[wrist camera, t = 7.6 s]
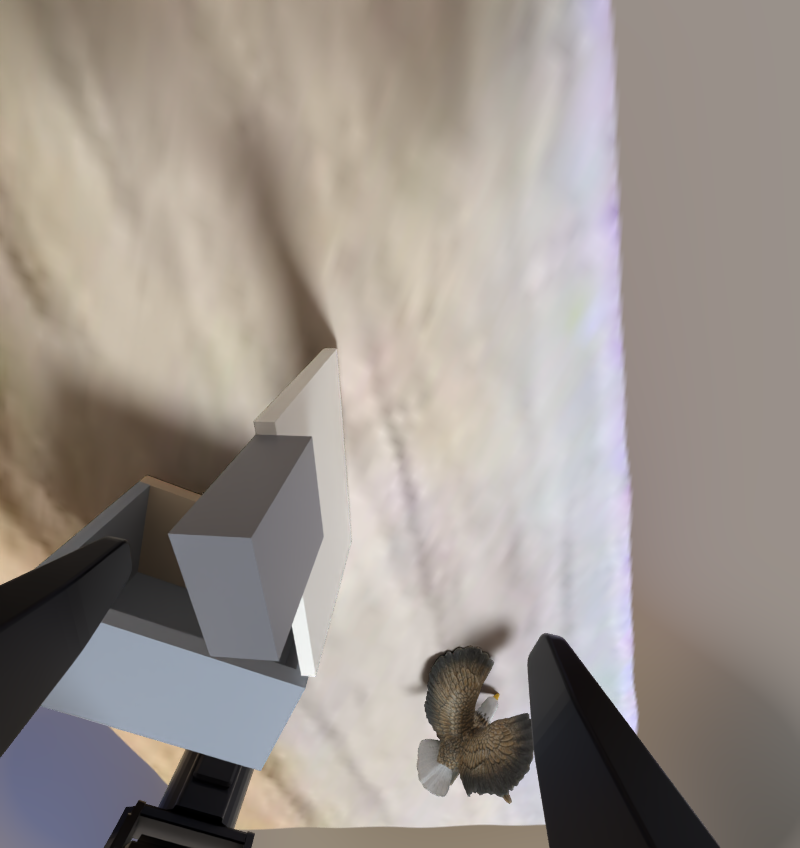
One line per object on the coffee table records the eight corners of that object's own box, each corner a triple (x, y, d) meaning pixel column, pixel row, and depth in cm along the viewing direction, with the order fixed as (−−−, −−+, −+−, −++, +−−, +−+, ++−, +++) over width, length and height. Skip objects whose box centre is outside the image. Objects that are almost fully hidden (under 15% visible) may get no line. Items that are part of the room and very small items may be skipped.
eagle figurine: (533, 743, 29) (561, 698, 23) (489, 857, 24) (511, 833, 19) (446, 675, 33) (453, 622, 27) (394, 762, 28) (390, 720, 23)
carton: (306, 626, 27) (260, 771, 19) (133, 567, 25) (16, 698, 18) (344, 548, 23) (305, 688, 16) (146, 475, 22) (6, 592, 15)
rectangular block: (341, 540, 23) (262, 807, 12) (324, 348, 18) (162, 516, 7) (368, 542, 22) (312, 812, 12) (359, 348, 17) (247, 520, 7)
